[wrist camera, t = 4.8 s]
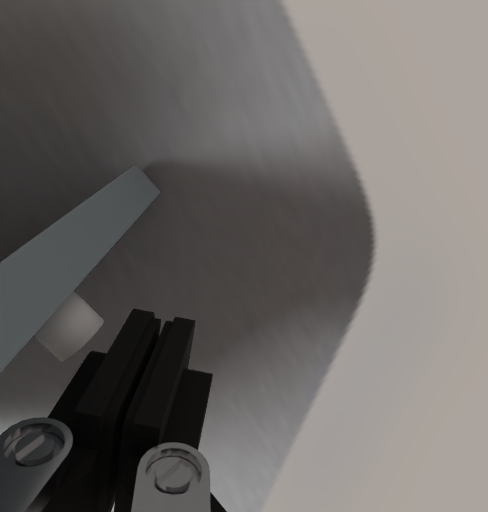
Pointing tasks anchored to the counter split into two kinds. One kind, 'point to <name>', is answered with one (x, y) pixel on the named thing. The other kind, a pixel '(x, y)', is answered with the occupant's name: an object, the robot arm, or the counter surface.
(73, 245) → the door
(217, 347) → the counter surface
